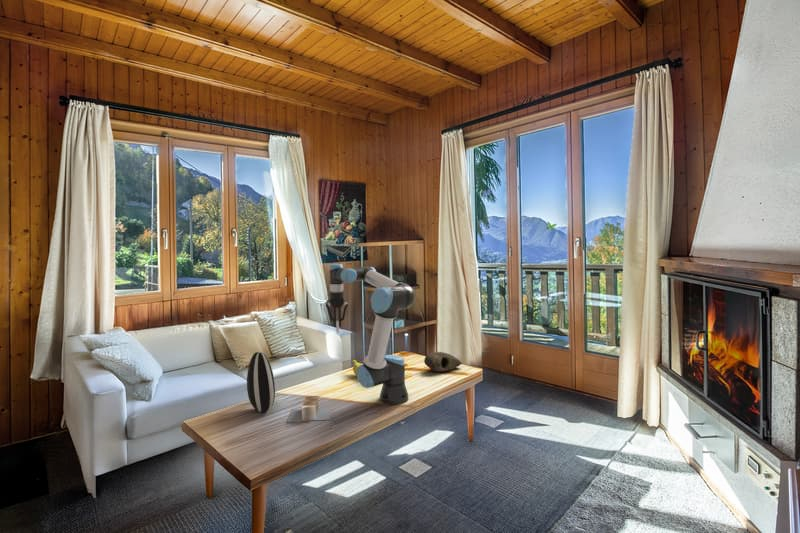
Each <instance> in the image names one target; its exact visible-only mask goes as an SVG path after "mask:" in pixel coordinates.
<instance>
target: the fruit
mask: <svg viewBox="0 0 800 533" xmlns="http://www.w3.org/2000/svg"><path fill="white" fill-rule="evenodd" d="M351 362H352V363H353V366H352V371H353V373H354V374H355V376H356V377H357V367H358V366H360V365H363V363H360V362H357V360H355V359H353V360H352V361H351Z"/></svg>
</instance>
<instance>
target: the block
mask: <svg viewBox="0 0 800 533" xmlns="http://www.w3.org/2000/svg"><path fill="white" fill-rule="evenodd" d="M318 408H319V395H310V396H305V398H304V400H303V403H302V406H301V409H302V420H312V419H315V418H316V414H317V411H318Z"/></svg>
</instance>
